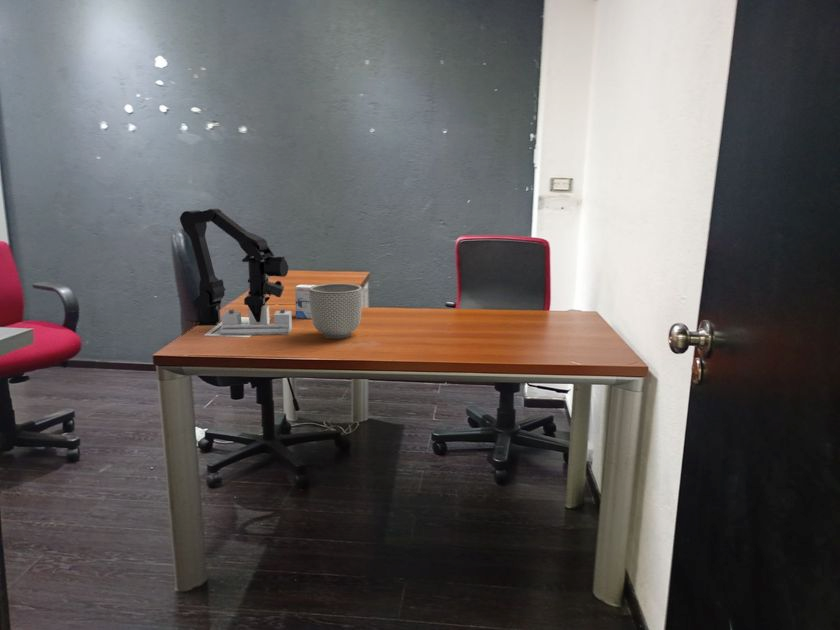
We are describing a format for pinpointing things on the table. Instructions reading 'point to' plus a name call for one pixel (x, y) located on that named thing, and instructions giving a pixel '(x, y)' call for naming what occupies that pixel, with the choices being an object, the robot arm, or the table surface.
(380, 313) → the table surface
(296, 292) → the ink box
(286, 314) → the block
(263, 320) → the module
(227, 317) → the block
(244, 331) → the rail
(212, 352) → the table surface
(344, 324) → the planter
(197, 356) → the table surface
